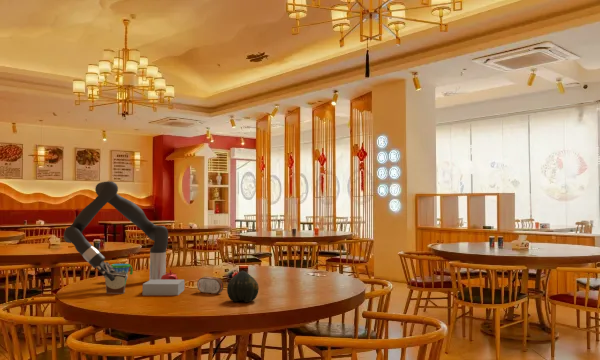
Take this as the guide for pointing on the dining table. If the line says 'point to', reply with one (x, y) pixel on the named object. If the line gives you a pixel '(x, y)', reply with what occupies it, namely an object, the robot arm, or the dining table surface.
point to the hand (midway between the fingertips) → (115, 278)
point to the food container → (116, 283)
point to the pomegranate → (169, 276)
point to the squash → (242, 287)
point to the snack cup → (122, 268)
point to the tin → (210, 285)
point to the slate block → (163, 287)
